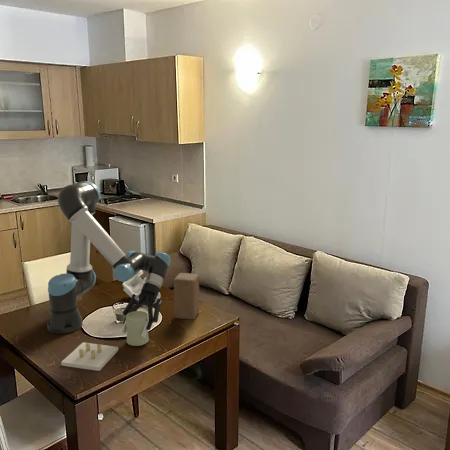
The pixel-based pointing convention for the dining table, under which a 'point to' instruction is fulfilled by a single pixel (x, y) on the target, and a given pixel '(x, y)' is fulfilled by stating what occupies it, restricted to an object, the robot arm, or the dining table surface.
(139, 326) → the can
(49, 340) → the dining table surface
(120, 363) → the dining table surface
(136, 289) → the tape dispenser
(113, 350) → the standoff plate
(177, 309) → the wooden block
